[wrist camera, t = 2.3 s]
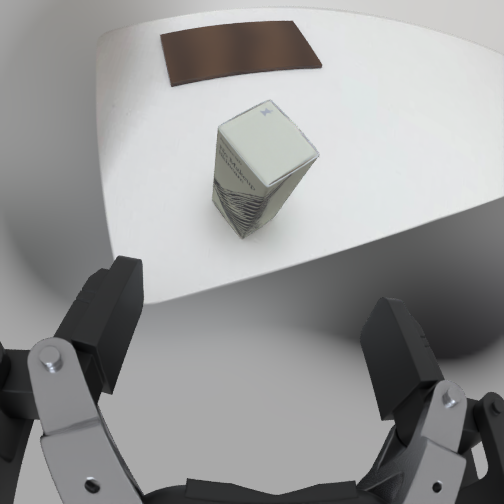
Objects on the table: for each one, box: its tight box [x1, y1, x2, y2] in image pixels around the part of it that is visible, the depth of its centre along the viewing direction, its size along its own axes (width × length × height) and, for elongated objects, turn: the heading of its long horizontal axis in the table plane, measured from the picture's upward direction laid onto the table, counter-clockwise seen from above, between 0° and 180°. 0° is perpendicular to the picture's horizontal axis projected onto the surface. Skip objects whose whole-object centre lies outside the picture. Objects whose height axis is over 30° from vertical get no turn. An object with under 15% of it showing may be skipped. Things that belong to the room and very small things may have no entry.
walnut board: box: [160, 21, 322, 87], centre depth 34 cm, size 20×11×1 cm, turn 107°
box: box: [212, 100, 319, 239], centre depth 23 cm, size 5×4×13 cm
